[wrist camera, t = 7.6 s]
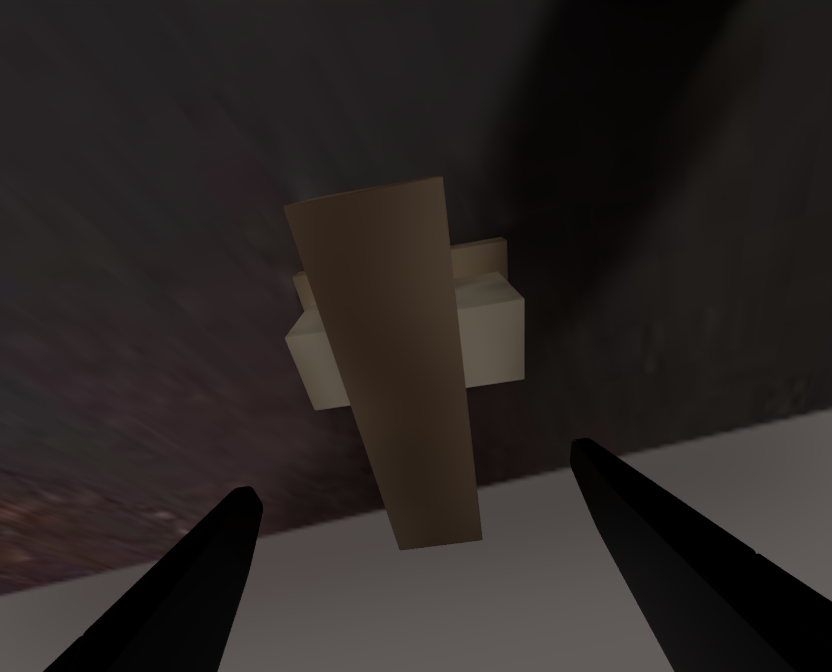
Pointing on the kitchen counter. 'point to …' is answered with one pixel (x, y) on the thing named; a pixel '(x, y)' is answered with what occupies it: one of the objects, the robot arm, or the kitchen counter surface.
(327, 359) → the beige stepped block
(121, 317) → the kitchen counter surface
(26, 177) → the kitchen counter surface
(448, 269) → the brown wooden bar
